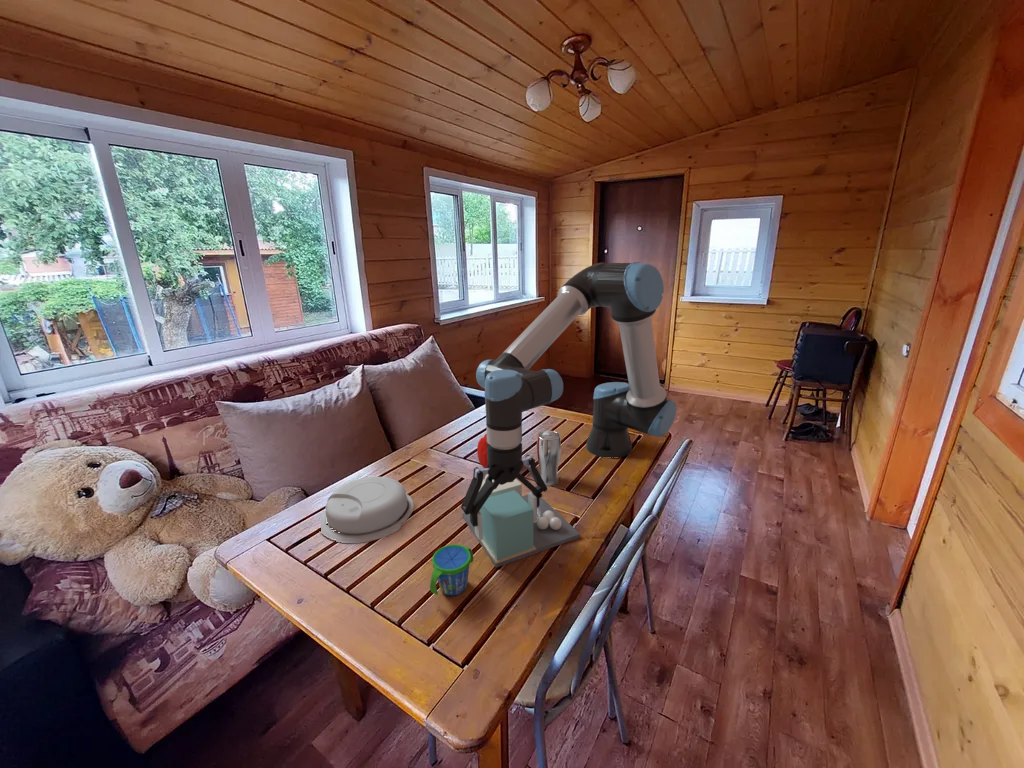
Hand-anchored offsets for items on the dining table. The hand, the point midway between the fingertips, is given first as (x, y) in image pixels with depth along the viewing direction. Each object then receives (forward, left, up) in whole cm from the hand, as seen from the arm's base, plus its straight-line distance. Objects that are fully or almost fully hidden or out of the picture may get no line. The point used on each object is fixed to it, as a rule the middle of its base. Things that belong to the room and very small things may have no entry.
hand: (506, 527), depth 97 cm
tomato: (-15, -36, -6) cm, 39 cm away
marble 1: (-10, -1, -4) cm, 11 cm away
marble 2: (-13, -3, -4) cm, 14 cm away
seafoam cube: (0, 0, -4) cm, 4 cm away
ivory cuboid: (-3, -11, -4) cm, 12 cm away
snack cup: (+15, +6, -5) cm, 17 cm away
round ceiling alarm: (+26, -30, -6) cm, 40 cm away
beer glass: (-24, -21, -5) cm, 32 cm away
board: (-6, -6, -5) cm, 10 cm away
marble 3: (-13, +1, -4) cm, 14 cm away
